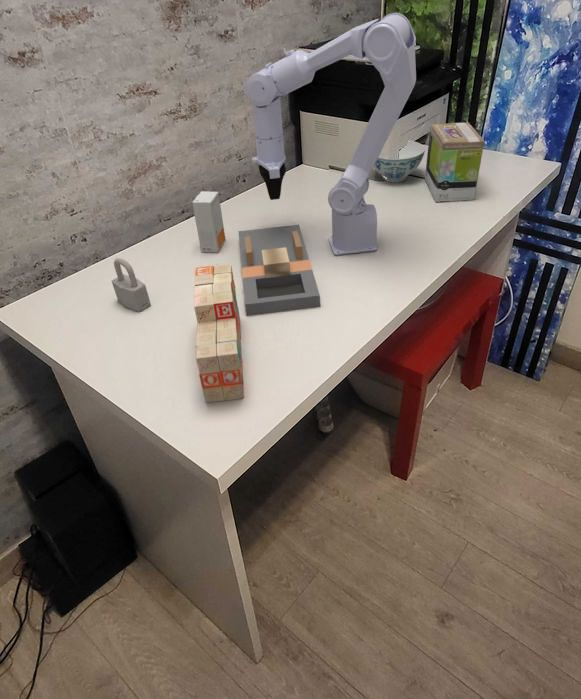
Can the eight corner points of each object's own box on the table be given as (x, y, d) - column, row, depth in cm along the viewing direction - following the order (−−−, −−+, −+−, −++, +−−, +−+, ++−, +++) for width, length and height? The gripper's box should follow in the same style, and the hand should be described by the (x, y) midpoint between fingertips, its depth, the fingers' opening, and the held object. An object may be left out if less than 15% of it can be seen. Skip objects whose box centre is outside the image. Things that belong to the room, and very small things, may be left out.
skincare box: (218, 253, 118) (210, 202, 111) (201, 252, 119) (191, 202, 112) (226, 240, 123) (218, 191, 115) (209, 239, 124) (200, 190, 116)
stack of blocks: (245, 399, 82) (234, 337, 74) (205, 404, 82) (190, 342, 74) (240, 319, 99) (231, 261, 91) (206, 323, 98) (194, 265, 90)
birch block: (287, 260, 109) (286, 247, 107) (290, 275, 104) (289, 261, 102) (263, 263, 109) (261, 250, 107) (265, 278, 104) (263, 264, 102)
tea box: (475, 201, 130) (485, 139, 121) (434, 203, 131) (441, 142, 122) (461, 177, 142) (469, 120, 133) (423, 179, 143) (429, 122, 133)
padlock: (115, 302, 106) (100, 258, 99) (131, 293, 108) (118, 249, 102) (137, 314, 102) (123, 269, 96) (153, 304, 104) (141, 259, 98)
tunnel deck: (299, 234, 123) (298, 212, 119) (320, 306, 100) (319, 281, 96) (239, 241, 122) (236, 219, 119) (246, 315, 99) (243, 290, 96)
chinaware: (410, 191, 137) (412, 162, 132) (357, 183, 144) (358, 154, 139) (430, 171, 147) (433, 143, 142) (380, 164, 153) (381, 136, 148)
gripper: (247, 126, 113) (254, 187, 122) (251, 148, 102) (259, 214, 111) (280, 123, 114) (284, 184, 122) (287, 145, 103) (292, 210, 111)
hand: (274, 198), depth 117 cm, fingers closed
